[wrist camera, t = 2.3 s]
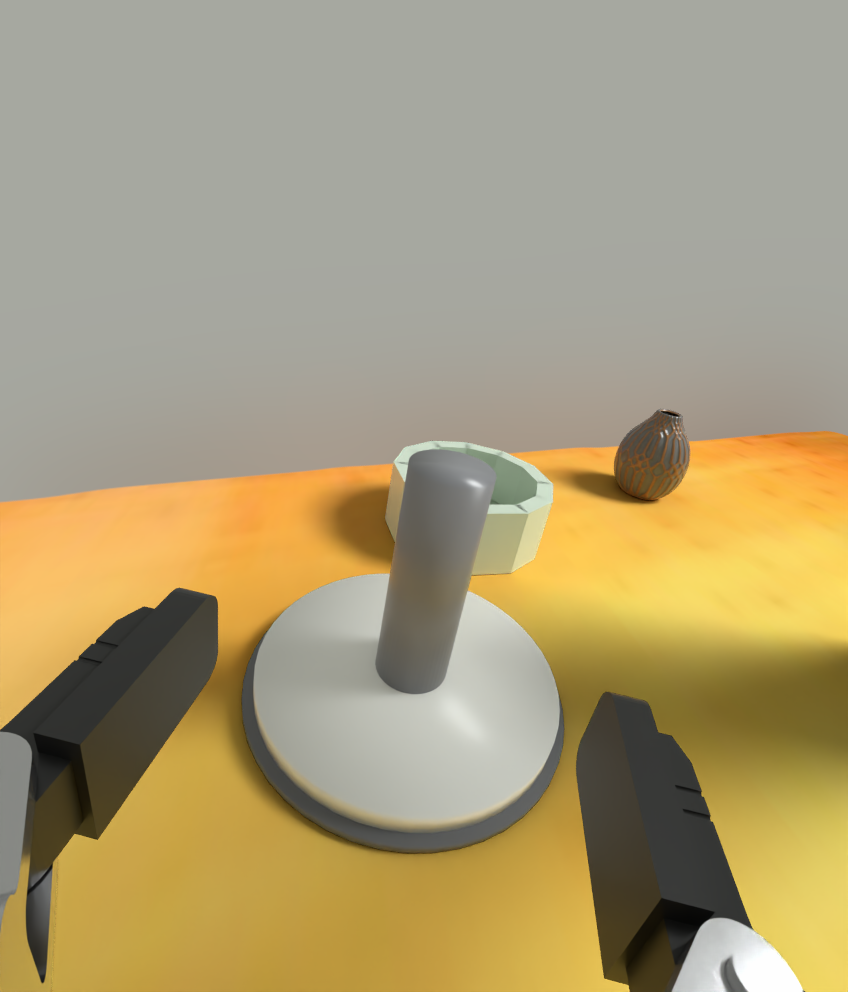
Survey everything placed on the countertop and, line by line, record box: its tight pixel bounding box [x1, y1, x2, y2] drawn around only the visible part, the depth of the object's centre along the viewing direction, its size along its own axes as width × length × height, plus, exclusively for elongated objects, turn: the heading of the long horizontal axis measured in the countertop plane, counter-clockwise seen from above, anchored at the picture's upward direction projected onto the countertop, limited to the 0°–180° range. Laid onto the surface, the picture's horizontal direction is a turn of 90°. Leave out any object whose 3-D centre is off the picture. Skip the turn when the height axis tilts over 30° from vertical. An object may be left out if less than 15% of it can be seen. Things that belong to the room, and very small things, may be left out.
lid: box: [253, 449, 560, 833], centre depth 23 cm, size 15×15×12 cm
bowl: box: [385, 441, 553, 575], centre depth 40 cm, size 12×12×5 cm
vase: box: [614, 409, 690, 500], centre depth 52 cm, size 7×7×9 cm
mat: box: [242, 631, 564, 853], centre depth 26 cm, size 16×16×1 cm
